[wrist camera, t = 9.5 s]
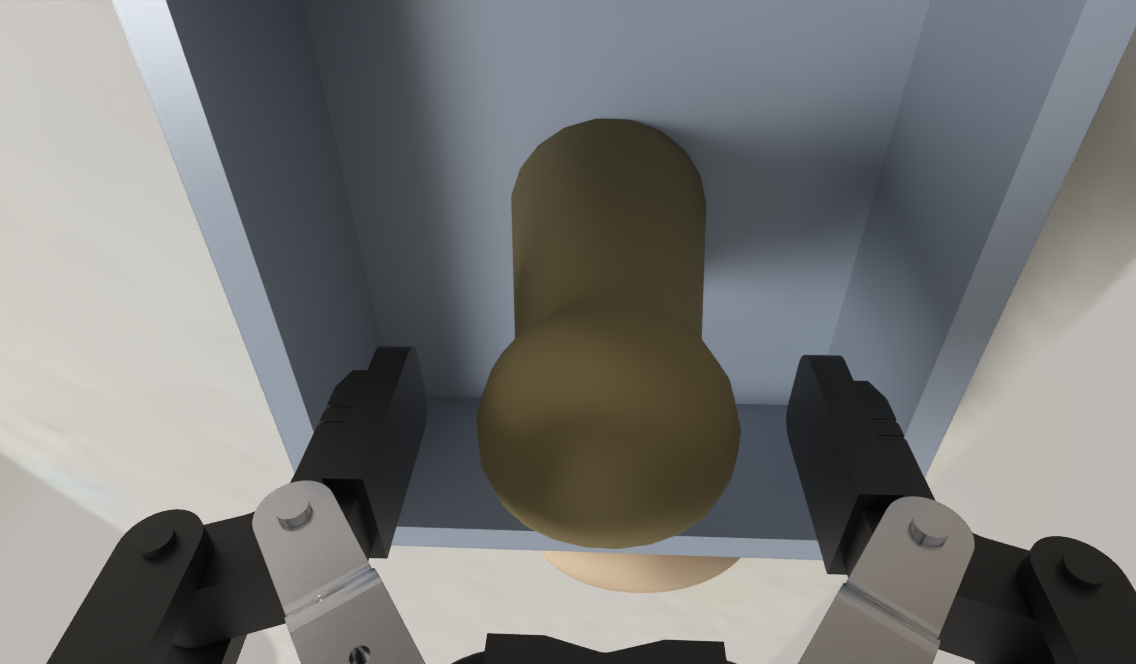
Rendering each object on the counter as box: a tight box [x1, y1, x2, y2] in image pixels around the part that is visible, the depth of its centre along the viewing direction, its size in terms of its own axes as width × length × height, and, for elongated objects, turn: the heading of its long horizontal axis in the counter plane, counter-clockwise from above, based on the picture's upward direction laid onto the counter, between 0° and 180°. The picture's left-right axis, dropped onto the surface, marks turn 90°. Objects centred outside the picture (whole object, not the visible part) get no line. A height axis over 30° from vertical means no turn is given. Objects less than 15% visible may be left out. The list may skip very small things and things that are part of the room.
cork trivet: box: [540, 551, 740, 593], centre depth 31 cm, size 10×10×1 cm
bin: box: [112, 0, 1136, 560], centre depth 19 cm, size 18×18×7 cm
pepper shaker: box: [476, 118, 741, 549], centre depth 16 cm, size 6×6×11 cm
